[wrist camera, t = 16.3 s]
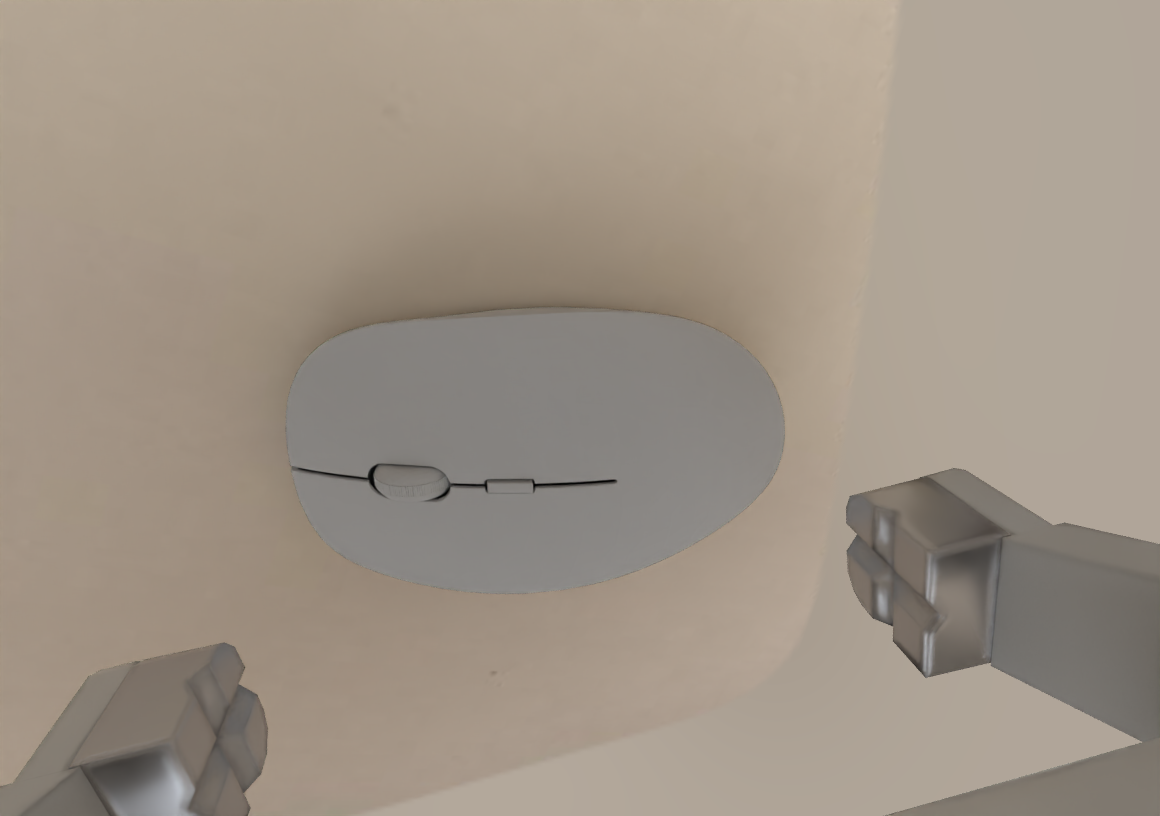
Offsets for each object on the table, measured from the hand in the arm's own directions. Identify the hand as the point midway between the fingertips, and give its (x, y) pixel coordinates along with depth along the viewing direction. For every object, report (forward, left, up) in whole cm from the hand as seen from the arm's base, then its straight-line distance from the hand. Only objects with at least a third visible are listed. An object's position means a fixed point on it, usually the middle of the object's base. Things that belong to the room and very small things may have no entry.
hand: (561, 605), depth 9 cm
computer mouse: (0, 0, -7) cm, 7 cm away
